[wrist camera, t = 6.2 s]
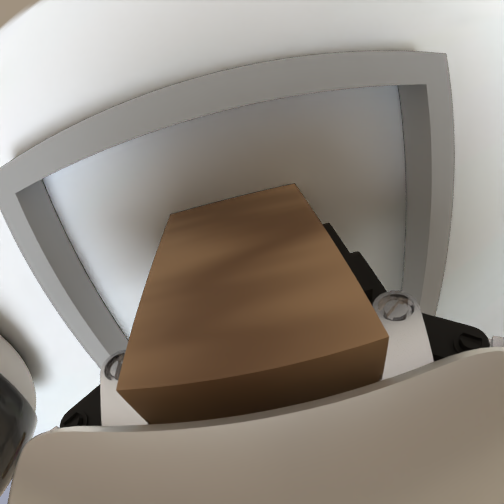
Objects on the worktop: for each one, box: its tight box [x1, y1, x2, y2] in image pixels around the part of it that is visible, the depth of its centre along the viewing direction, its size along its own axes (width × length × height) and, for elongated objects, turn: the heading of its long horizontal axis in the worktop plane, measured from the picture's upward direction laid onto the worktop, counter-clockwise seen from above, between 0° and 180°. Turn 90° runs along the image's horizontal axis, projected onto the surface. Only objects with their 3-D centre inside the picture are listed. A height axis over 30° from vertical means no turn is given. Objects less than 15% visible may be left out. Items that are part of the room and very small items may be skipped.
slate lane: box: [0, 51, 455, 369], centre depth 14 cm, size 17×21×2 cm
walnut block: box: [116, 183, 389, 424], centre depth 11 cm, size 5×11×8 cm, turn 13°
